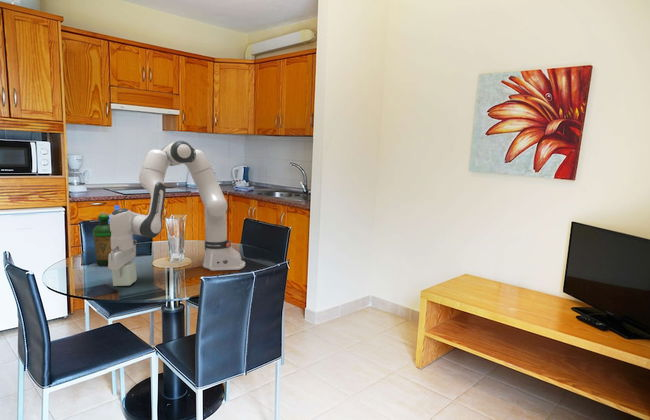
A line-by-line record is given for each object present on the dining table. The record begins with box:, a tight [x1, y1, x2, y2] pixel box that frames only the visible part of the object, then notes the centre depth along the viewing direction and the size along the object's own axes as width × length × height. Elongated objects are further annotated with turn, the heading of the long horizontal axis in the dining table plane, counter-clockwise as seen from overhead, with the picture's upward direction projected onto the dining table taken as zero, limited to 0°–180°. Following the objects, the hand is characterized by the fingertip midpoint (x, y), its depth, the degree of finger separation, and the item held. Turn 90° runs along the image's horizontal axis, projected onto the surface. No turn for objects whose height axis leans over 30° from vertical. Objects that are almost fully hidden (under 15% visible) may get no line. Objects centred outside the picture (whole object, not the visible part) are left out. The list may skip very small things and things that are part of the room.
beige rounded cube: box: [111, 261, 138, 287], centre depth 189 cm, size 7×7×9 cm
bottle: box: [92, 211, 112, 267], centre depth 217 cm, size 11×11×28 cm
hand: (123, 273), depth 189 cm, fingers closed on beige rounded cube, 7 cm apart
